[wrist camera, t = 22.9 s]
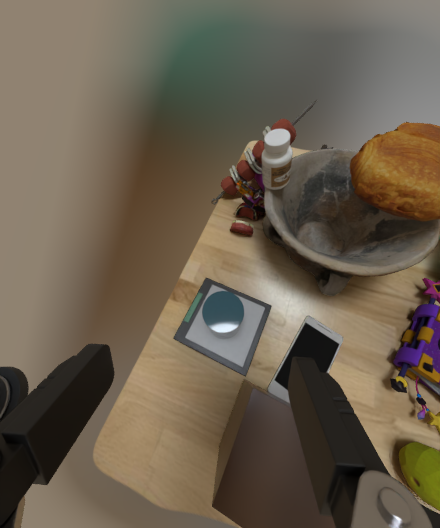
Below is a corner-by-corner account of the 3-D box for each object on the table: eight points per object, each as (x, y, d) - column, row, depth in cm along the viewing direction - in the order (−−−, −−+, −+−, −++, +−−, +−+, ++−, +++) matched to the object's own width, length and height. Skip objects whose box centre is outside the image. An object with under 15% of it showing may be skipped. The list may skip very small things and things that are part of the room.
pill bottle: (276, 195, 33) (277, 152, 26) (257, 182, 35) (254, 140, 28) (295, 178, 34) (301, 133, 27) (275, 167, 36) (276, 122, 29)
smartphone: (265, 389, 35) (266, 390, 34) (306, 315, 40) (308, 314, 39) (304, 420, 33) (306, 422, 32) (342, 338, 38) (344, 337, 37)
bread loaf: (355, 160, 25) (324, 200, 33) (492, 222, 22) (423, 250, 30) (394, 93, 29) (358, 143, 36) (515, 138, 26) (448, 182, 34)
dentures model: (228, 223, 45) (238, 197, 48) (228, 234, 49) (237, 209, 52) (253, 230, 44) (262, 203, 47) (250, 240, 48) (258, 215, 51)
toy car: (255, 189, 40) (241, 209, 42) (280, 203, 49) (267, 219, 51) (238, 174, 42) (225, 194, 44) (264, 191, 51) (253, 206, 53)
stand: (218, 445, 31) (211, 506, 18) (243, 378, 35) (253, 387, 22) (281, 485, 29) (327, 588, 16) (300, 409, 33) (350, 439, 20)
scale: (175, 339, 39) (172, 337, 36) (206, 280, 44) (205, 276, 41) (244, 375, 36) (245, 376, 33) (269, 308, 41) (272, 304, 38)
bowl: (322, 186, 54) (353, 127, 41) (406, 265, 43) (486, 220, 30) (233, 227, 49) (236, 176, 36) (304, 328, 38) (345, 308, 25)
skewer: (217, 201, 58) (316, 103, 41) (221, 213, 56) (327, 115, 39) (203, 193, 54) (306, 82, 38) (207, 206, 52) (317, 95, 35)
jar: (201, 329, 37) (194, 321, 30) (216, 299, 39) (213, 284, 32) (232, 345, 35) (234, 340, 28) (246, 312, 38) (250, 300, 31)
